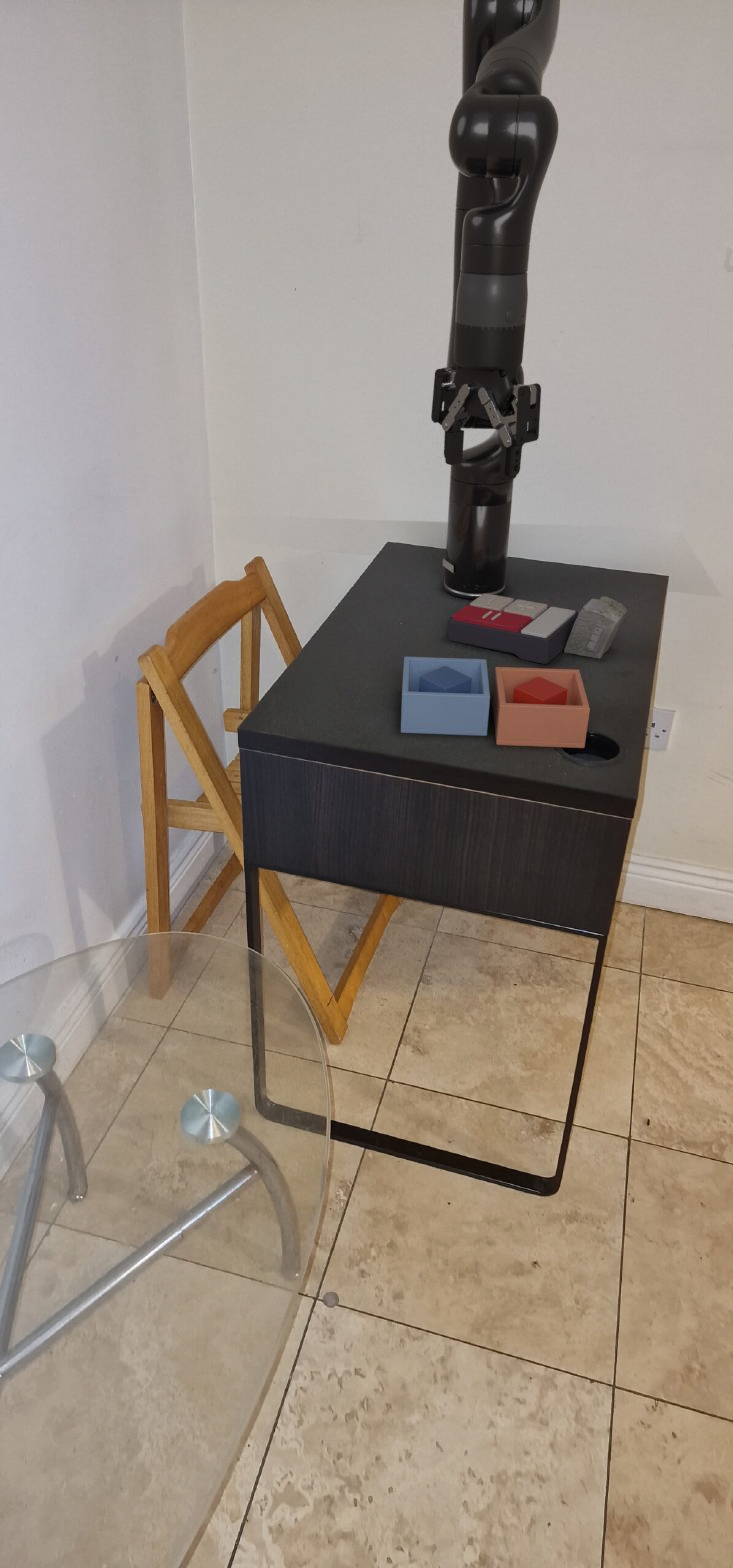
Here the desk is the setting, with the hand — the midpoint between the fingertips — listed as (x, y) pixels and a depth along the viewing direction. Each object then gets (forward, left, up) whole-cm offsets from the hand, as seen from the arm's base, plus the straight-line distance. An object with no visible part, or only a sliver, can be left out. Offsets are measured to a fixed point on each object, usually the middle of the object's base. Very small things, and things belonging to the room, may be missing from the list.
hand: (480, 471), depth 118 cm
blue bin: (+11, -3, -26) cm, 28 cm away
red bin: (+13, +8, -26) cm, 30 cm away
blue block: (+11, -3, -26) cm, 28 cm away
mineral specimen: (-8, +17, -26) cm, 32 cm away
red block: (+13, +8, -26) cm, 30 cm away
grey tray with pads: (-12, +7, -26) cm, 30 cm away
